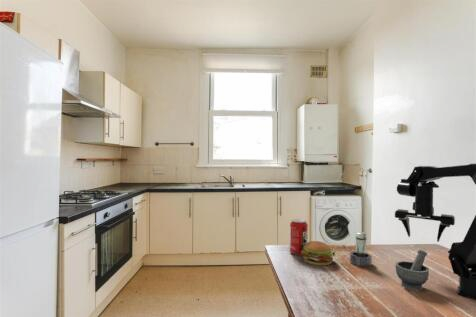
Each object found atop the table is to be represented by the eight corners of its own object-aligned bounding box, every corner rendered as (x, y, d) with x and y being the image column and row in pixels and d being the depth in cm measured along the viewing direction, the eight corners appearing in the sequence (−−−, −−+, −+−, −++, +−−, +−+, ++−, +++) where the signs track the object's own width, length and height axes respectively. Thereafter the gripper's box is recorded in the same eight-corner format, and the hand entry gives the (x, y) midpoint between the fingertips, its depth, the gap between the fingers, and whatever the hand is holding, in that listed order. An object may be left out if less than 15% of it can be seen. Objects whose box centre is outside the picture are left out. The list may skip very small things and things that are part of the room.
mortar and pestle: (414, 295, 87) (414, 257, 87) (388, 282, 96) (389, 248, 96) (438, 290, 91) (438, 254, 91) (411, 278, 100) (412, 245, 100)
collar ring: (368, 268, 109) (368, 259, 109) (347, 263, 114) (347, 254, 114) (373, 262, 115) (373, 254, 115) (353, 258, 120) (353, 250, 120)
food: (331, 270, 106) (332, 249, 106) (296, 262, 114) (297, 243, 114) (339, 259, 118) (339, 241, 118) (307, 253, 125) (307, 236, 125)
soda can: (286, 251, 128) (287, 218, 128) (301, 249, 130) (302, 218, 130) (294, 256, 120) (295, 222, 120) (310, 255, 123) (311, 221, 123)
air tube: (365, 265, 112) (366, 235, 112) (355, 263, 113) (355, 233, 113) (366, 262, 115) (366, 232, 115) (355, 260, 117) (356, 231, 117)
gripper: (455, 199, 106) (455, 239, 105) (400, 194, 118) (399, 230, 118) (454, 202, 97) (453, 246, 97) (394, 196, 109) (394, 235, 109)
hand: (423, 239), depth 105 cm, fingers open, 9 cm apart
